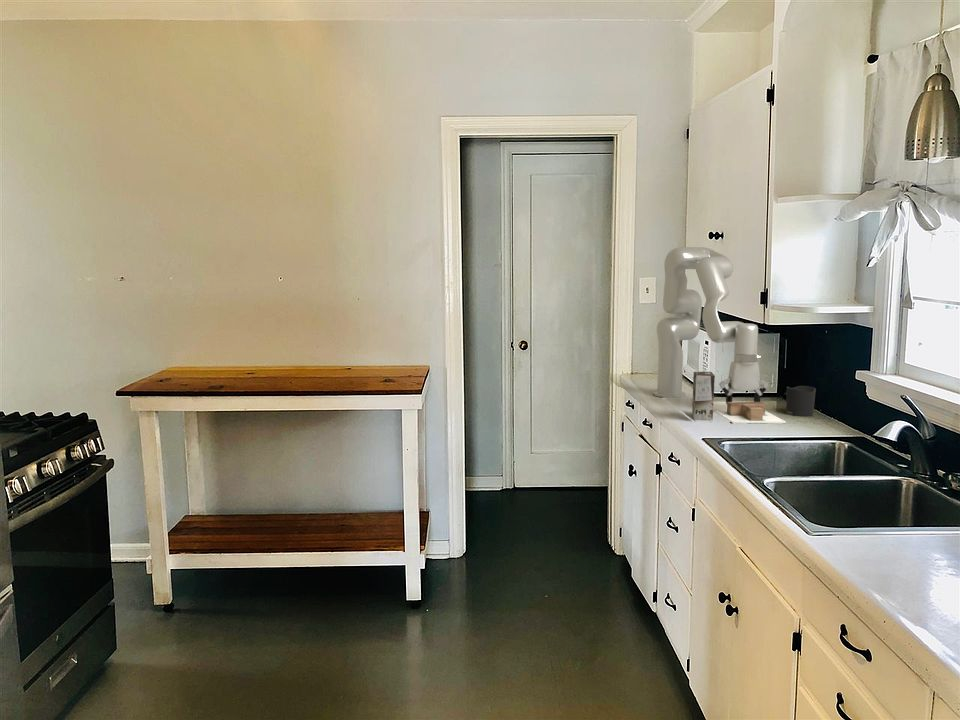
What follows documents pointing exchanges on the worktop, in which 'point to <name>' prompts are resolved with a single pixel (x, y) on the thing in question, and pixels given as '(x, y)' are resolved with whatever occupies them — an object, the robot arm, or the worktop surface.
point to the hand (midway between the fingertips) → (742, 406)
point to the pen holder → (800, 401)
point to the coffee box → (703, 396)
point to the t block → (747, 410)
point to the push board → (722, 409)
